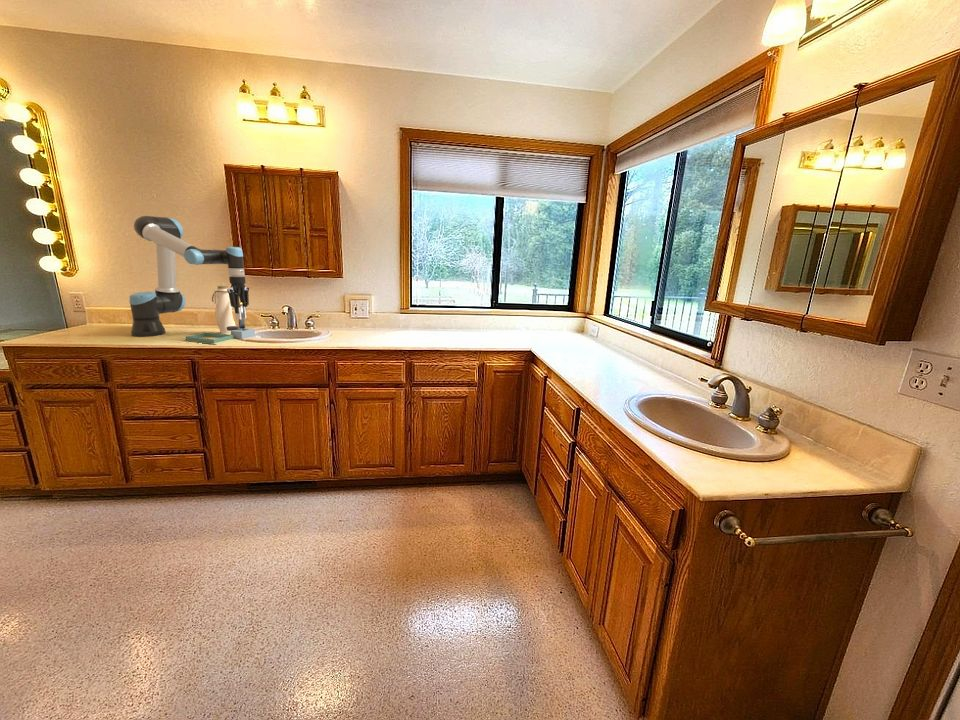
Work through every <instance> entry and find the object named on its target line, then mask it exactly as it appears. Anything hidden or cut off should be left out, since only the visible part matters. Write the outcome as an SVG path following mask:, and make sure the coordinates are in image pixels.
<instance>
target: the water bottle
mask: <svg viewBox="0 0 960 720" xmlns="http://www.w3.org/2000/svg"><path fill="white" fill-rule="evenodd" d="M227 289H229V288H228V285H217V290H214V291H213V294H212V296H211V302H214V305H215V309H214V311H215V312H214V314H215V316H214V317H215V321H216V325H217V327H218V329H219V332H220V333H219V334H228V335H229V334H231V331H228V330H227V327H228V326H237V325H236V322H235V320H234V317H233V316H234V315H233V307H231V304H230V299H229V293H228V291H227Z"/></svg>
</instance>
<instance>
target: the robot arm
mask: <svg viewBox="0 0 960 720" xmlns="http://www.w3.org/2000/svg"><path fill="white" fill-rule="evenodd" d="M133 229H134V231H135V233H136V235H138V236H139V237H140V238H143V239H144V240H146V241H149V242H153V243H154V244H155V247H156V248H155V249H156V251H155V252H156V268H157V269H156V270H157V287H155V289H154V291H140V292H133V293H132V294H130V295H129V305H130V310H131V311H130V312H131V317H132V321H133V322H132V326H131V330H130V334H131V336H133V337H153V336H161V335H165V334H166V329H165V327H164V325H163V324H162V321H161V320H160V319H161V318H160V315H161V314H171V313H177V312H180V311H182V310H183V309H184V307H185V306H186V298H185V297H184V294H183V293H182V292H181V290H180V289H179V288H178V284H177V261H176V257H177V255H178V256H180V257H181V256H182V257H183V258H184V260H185V261H186V262H187V264H189V265H195V266H196V265H227V269H228V275H229V278H228V279H229V283H230V285H231V286H230V288H228V289H227V291H228V293H229V299H230V304H231V307H232V308H234V314H235V318H236V319H235V320H238V319H241V310H240V308H239V302H243V309H244V319H247V307H248V306H249V304H250V302H249V301H250V299H249V296H250V295H249V294H250V293H249V292H250V287H246V285H245V284H247V283H246V277H245V275H246V274H245V262H244V253H243V249H242V247H239V246H227V247H226V248H225V250H223V249H214V248H213V249H204V248H202V249H201V248H199V247H196V246H195V245H193V244H191V243H189V242H187V241H185V240H183V239H182V238H183V237H184V228H183V226H182V225H181V223H180V221H178V220H176V219H174V218H172V217H167V216H166V217H165V216H151V215H142V216H139V217H138V218H136V219H135V220H134V223H133ZM176 254H177V255H176Z"/></svg>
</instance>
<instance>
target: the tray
mask: <svg viewBox="0 0 960 720" xmlns="http://www.w3.org/2000/svg"><path fill="white" fill-rule="evenodd" d="M204 337H210V338H204ZM211 337H212V338H211ZM213 338H214V339H213ZM184 339H185V341H189V342H197V343H196V344H199V343H202V344H201V345H209V346H217V345H218V344H217V343H222V342H225V341H230V340H234V339H235V338H234V337H233V335H231V334H229V333H228V334H223V333H218V332H209V331H208V332H205V331H204V332H200V333H197V334H195V333H194V334H192V335H191V334H190V335H187V336H185V337H184ZM189 342H188V343H189Z"/></svg>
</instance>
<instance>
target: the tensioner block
mask: <svg viewBox="0 0 960 720" xmlns="http://www.w3.org/2000/svg"><path fill="white" fill-rule="evenodd" d="M227 330H228V331H231V333H230V335H233V337H234V339H238V340H245V339H248V338H253V337H256V332H255V331H256V330H255V328H251V327H250V328H247V327H245V329H239V325H236V326H228V327H227Z"/></svg>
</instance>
